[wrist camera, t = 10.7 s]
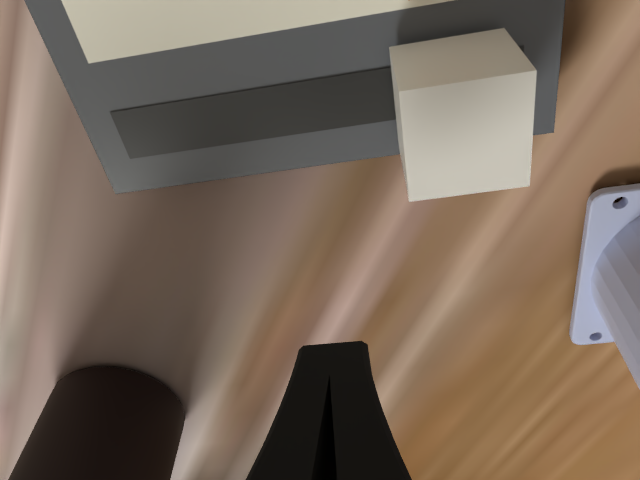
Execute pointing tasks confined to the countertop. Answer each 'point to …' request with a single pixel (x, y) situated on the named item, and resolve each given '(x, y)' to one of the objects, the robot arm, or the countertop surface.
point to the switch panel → (260, 77)
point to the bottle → (104, 429)
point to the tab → (463, 114)
